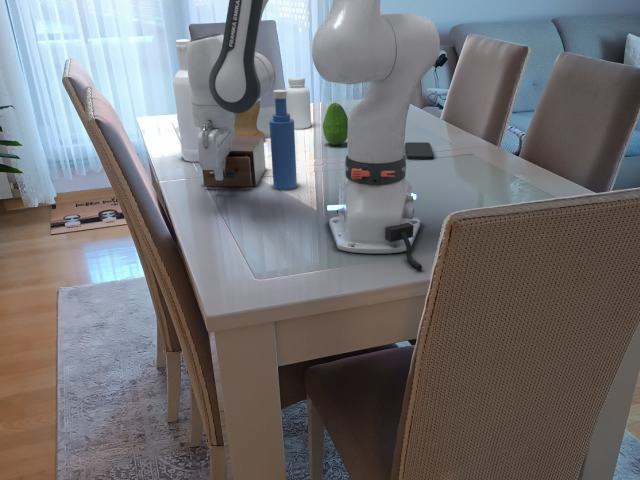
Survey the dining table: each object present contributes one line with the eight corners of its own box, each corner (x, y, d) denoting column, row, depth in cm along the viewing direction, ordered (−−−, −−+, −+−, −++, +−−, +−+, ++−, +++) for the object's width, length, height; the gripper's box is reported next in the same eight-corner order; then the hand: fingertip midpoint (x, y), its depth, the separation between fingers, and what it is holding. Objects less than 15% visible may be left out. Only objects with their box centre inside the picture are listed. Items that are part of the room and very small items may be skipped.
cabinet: (255, 186, 156) (253, 151, 151) (204, 186, 156) (200, 150, 152) (265, 169, 169) (263, 136, 164) (218, 169, 169) (214, 135, 165)
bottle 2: (295, 189, 154) (290, 93, 142) (272, 189, 154) (265, 92, 142) (298, 182, 158) (293, 88, 147) (275, 182, 159) (269, 88, 147)
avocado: (320, 147, 188) (319, 104, 182) (327, 141, 195) (326, 99, 189) (346, 149, 187) (346, 105, 180) (352, 142, 193) (352, 100, 187)
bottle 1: (177, 159, 177) (160, 40, 162) (195, 153, 183) (180, 37, 168) (200, 163, 174) (184, 42, 158) (217, 156, 180) (204, 39, 164)
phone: (407, 156, 176) (404, 142, 189) (406, 159, 176) (404, 145, 189) (434, 156, 176) (429, 142, 189) (433, 159, 176) (429, 145, 189)
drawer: (248, 192, 149) (245, 162, 146) (199, 191, 150) (196, 162, 146) (260, 170, 165) (258, 143, 162) (217, 169, 166) (214, 143, 162)
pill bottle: (283, 125, 213) (280, 77, 206) (305, 123, 216) (304, 75, 209) (291, 130, 207) (289, 80, 200) (314, 127, 210) (313, 79, 202)
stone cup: (265, 135, 202) (261, 84, 194) (265, 144, 192) (261, 91, 184) (216, 136, 201) (211, 85, 193) (214, 145, 190) (208, 92, 183)
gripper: (217, 126, 130) (224, 193, 138) (236, 106, 148) (242, 166, 155) (187, 126, 131) (195, 192, 138) (209, 106, 148) (216, 166, 155)
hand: (220, 178), depth 147 cm, fingers closed
